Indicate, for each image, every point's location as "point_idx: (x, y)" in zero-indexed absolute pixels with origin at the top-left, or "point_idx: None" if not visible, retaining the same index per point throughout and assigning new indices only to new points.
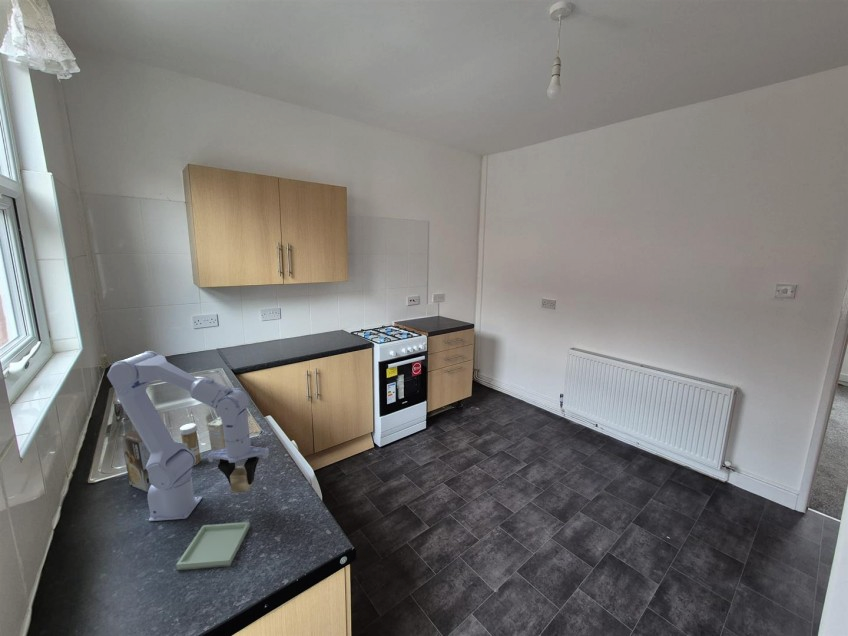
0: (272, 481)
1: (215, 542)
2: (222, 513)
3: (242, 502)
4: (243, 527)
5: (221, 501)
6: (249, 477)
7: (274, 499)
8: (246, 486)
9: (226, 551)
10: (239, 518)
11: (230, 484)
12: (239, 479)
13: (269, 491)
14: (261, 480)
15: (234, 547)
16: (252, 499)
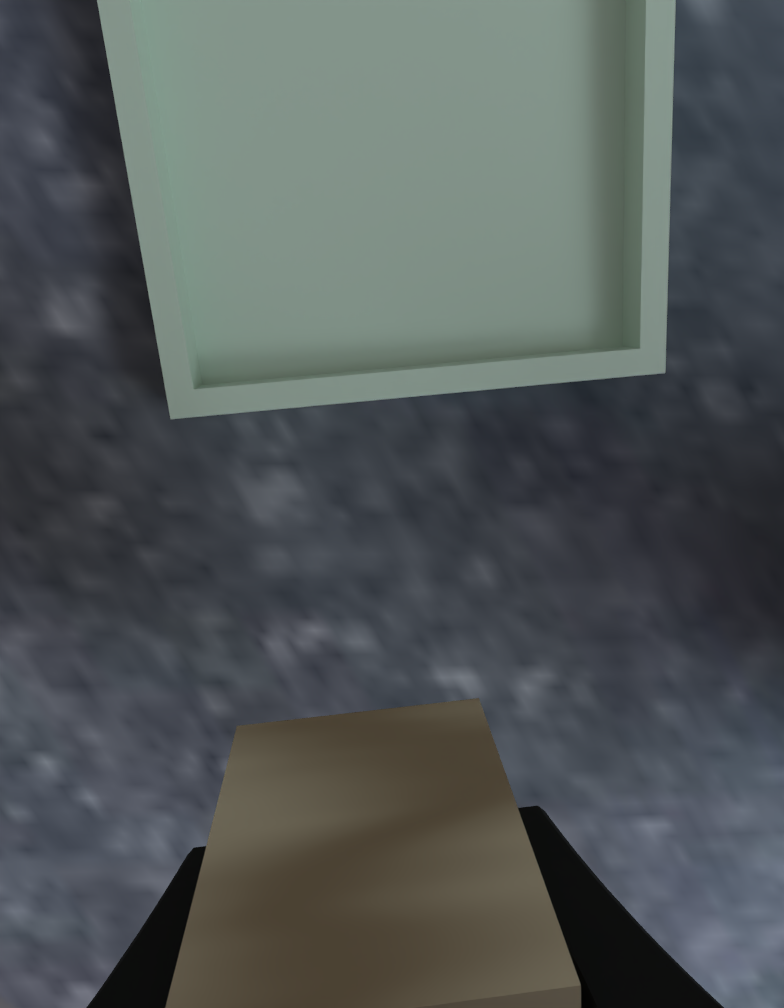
0: None
1: (424, 174)
2: (562, 585)
3: None
4: (232, 383)
5: (646, 729)
6: (134, 976)
7: (137, 768)
8: (227, 791)
9: (230, 32)
10: (359, 524)
11: (541, 819)
12: (339, 909)
13: None
14: None
15: (119, 12)
16: None
